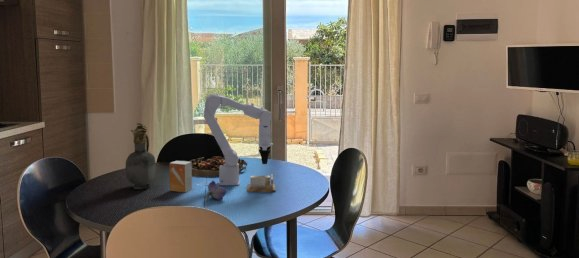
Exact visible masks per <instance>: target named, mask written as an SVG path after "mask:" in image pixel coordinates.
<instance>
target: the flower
mask: <svg viewBox="0 0 579 258" xmlns="http://www.w3.org/2000/svg"><path fill="white" fill-rule="evenodd" d="M207 190H208V191H207V192H208V193H207V194H206V197H205V199H206V200H205V201H206V202H207V203H208V202H209V198H210V197H212V198H214V200H216V201H217V200H218V201H219V200H220V201H221V200H223V199H224V196H225V195H226V194H227V189H226V188H224V187H221V186H220V185H219V182H217V183H216V180H214V179H213V180H211V181H210V183H209V184H208V185H207Z"/></svg>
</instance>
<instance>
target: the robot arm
mask: <svg viewBox="0 0 579 258" xmlns="http://www.w3.org/2000/svg"><path fill="white" fill-rule="evenodd" d="M225 106H226V107H227V106H228V107H232V108H235V109H237V110H239V111H242V112H243V114H244V115H245V116H247V117H250V118H252V119H255V120H259V121H258V122H259V123H258V148H259V149H258V152H259V154H260V155H259V156H260V157H261V163H262V165H267V164H268V160H269V156H270V153H271V146H274V143H273V142H271V141H272V139H271V137H272V132H271V130H272V127H271V126H272V125H271V123H272V122H271V121H272V118H273V116H272V113H271V112H270V111H269V110H268V109H265V108H264V107H259V106H256V105H255V104H254V103H252V102H250V103H246V104H244V103H241V102H240V101H238V100H235V99H232V98H230V97H228V96H224V95H219V94H217V93H211V94H209V95H208V96H207V98H206V100H205V103H204V110H203V118H204V120H205V122H206V124H207V126H208V127H209V130H210V131H211V133H212V135H213V137H214V138H215V140H216V143H217V145H218V146H219V148H220V150H221V151H222V154H223V159H224V158H225V164H224V165H221V166H220V167H219V176H218V177H219V178H218V183H219V186H240V183H241V180H240V172H239V164H238V159H239V157H238V153H237V151H235V150H234V149H233V148H232V146H231V145H230V143H229V141H228V139H227V137H226V136H225V133H224V132H223V130H222V128H221V127H220V123H218V120H217V119H216V117H215V114H216V112H217V110H218V108H219V107H225Z"/></svg>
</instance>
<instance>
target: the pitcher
mask: <svg viewBox="0 0 579 258" xmlns="http://www.w3.org/2000/svg"><path fill="white" fill-rule="evenodd" d="M136 125H137V126H136V127H135V128H134V129H131V130H130V132H132V135H133V144H134V151H133V152H131V153H130V154H128V156H127V158H126V161H125V176H126V177H125V178H126V180H127V182H129V183H130V184H133V186H132V187H133V189H134V190H144V189H145V190H146V189H148V188H150V186H151V185H150V184H149V183H152V181H153V180H154V178H155V176H156V169H157V168H156V167H157V166H156V165H157V164H156V157H155V156H154V154H152V153H151V152H149V149H150V148H149V147H150V138H149V137H150V136H149V134H148V133H147V132H148V131H149V130H148V128H147V126H145V125H144V124H142V123H141V122H136Z"/></svg>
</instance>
